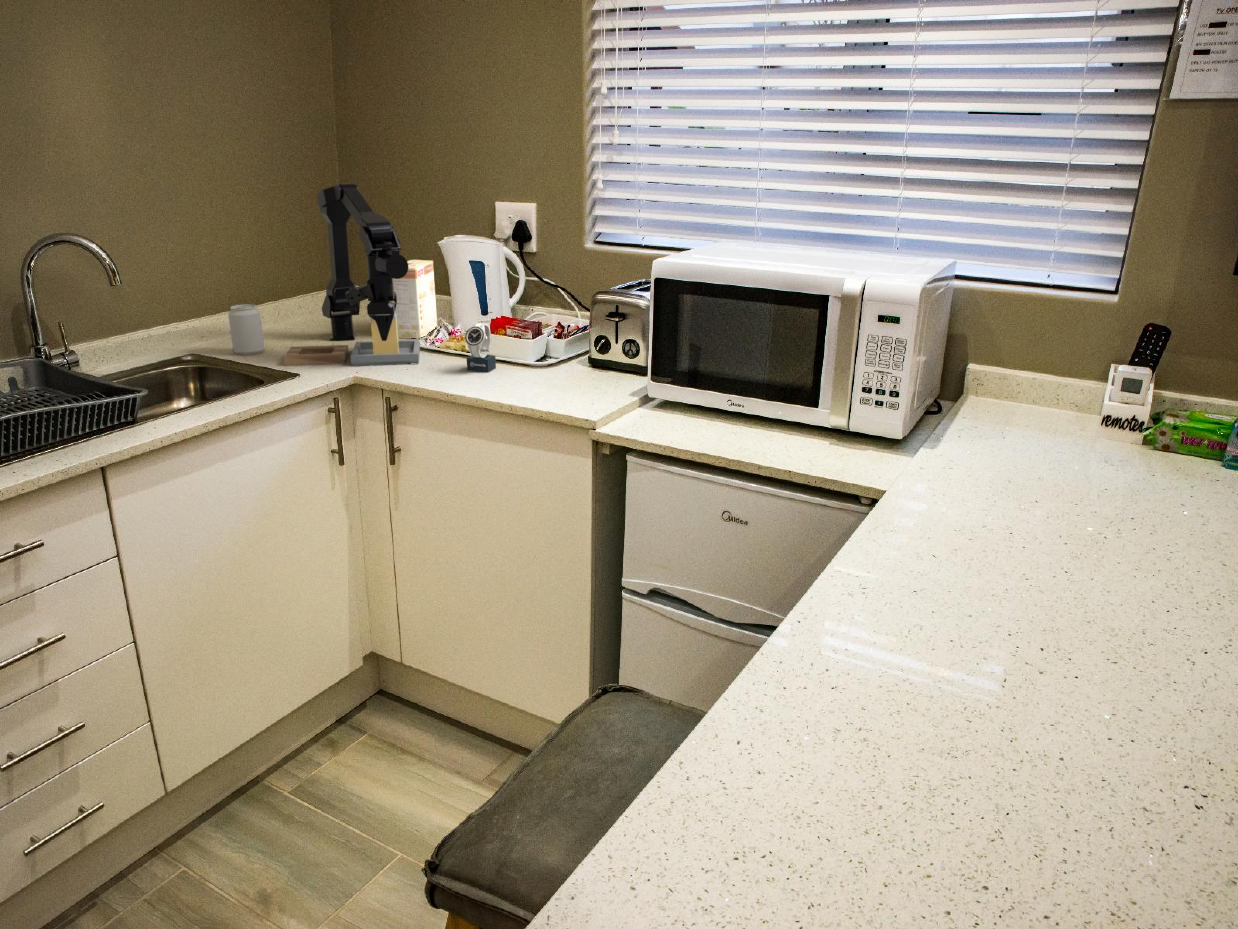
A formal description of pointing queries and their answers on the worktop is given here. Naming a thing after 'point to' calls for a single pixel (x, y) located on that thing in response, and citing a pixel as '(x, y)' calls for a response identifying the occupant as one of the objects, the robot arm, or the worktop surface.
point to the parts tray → (366, 357)
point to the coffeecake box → (416, 300)
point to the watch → (479, 348)
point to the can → (246, 329)
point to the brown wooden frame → (316, 355)
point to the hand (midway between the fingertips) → (385, 336)
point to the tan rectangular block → (390, 344)
